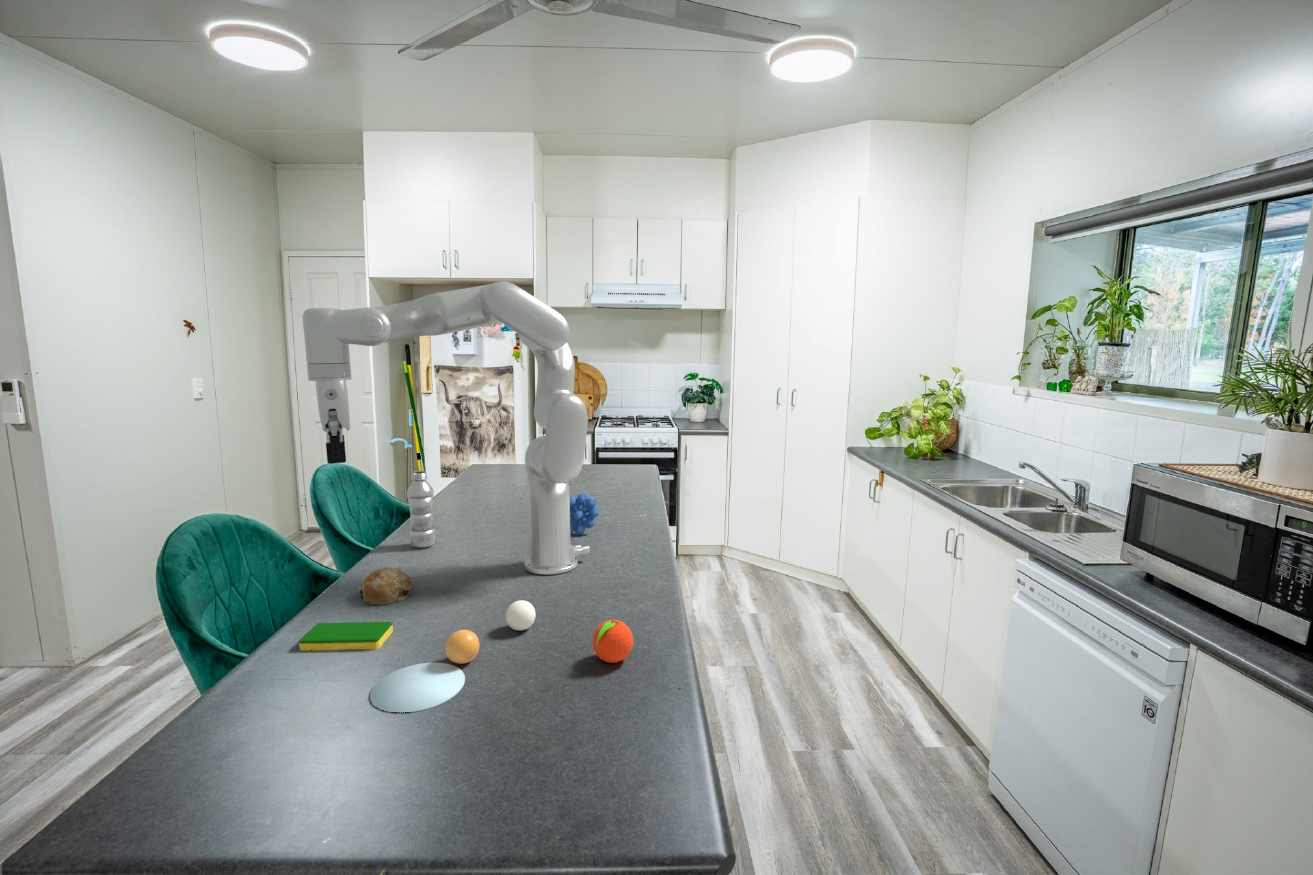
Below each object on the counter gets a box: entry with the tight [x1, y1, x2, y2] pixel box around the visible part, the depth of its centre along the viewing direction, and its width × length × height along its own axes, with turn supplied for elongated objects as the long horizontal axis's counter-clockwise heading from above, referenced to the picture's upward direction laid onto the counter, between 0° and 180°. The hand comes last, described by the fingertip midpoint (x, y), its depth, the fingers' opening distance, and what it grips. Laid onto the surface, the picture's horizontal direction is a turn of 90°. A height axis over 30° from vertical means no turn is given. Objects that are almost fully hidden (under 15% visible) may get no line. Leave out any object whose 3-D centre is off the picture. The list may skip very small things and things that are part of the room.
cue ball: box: [505, 599, 536, 631], centre depth 117 cm, size 6×6×6 cm
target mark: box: [369, 662, 466, 714], centre depth 98 cm, size 14×14×1 cm
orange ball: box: [445, 629, 480, 665], centre depth 105 cm, size 6×6×6 cm
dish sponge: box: [298, 621, 394, 652], centre depth 113 cm, size 7×14×2 cm, turn 92°
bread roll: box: [357, 567, 413, 606], centre depth 132 cm, size 10×10×8 cm
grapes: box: [570, 492, 600, 536], centre depth 173 cm, size 12×7×12 cm, turn 100°
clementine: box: [592, 619, 634, 664], centre depth 105 cm, size 8×7×7 cm
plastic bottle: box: [406, 470, 437, 549], centre depth 162 cm, size 6×7×20 cm
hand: (336, 458), depth 124 cm, fingers open, 9 cm apart
